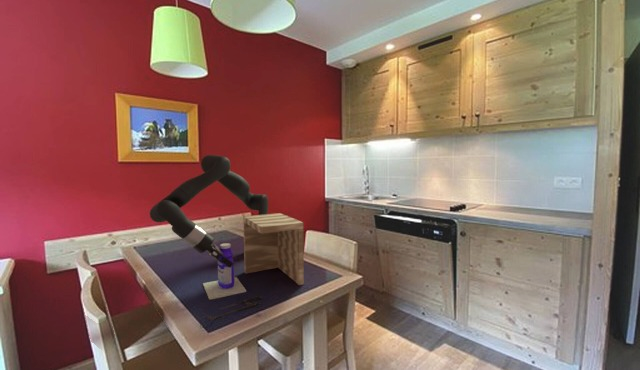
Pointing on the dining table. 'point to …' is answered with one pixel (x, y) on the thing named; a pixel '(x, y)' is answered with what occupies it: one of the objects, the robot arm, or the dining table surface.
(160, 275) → the dining table surface
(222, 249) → the bottle
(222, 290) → the mat
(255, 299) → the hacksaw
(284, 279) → the dining table surface
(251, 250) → the wooden slatted crate
